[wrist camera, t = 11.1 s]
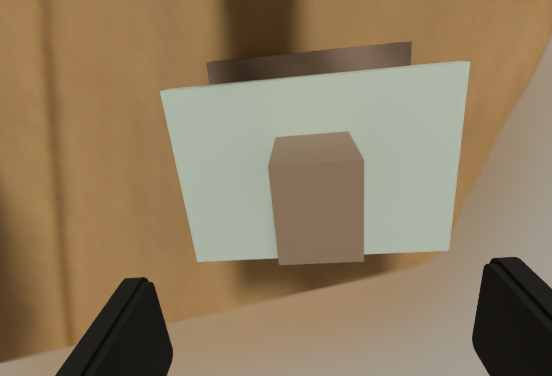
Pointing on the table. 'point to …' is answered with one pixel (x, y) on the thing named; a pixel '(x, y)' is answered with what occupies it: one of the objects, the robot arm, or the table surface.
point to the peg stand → (310, 63)
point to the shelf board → (321, 102)
